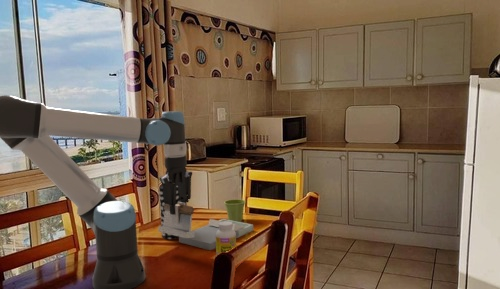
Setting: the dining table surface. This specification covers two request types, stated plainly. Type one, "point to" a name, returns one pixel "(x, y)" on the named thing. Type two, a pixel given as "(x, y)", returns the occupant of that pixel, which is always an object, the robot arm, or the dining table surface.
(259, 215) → the dining table surface
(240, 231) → the tray
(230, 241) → the supplement bottle
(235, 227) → the tile right
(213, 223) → the tile left
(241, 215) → the plant pot
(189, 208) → the scraper
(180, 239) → the board
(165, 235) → the spotted tube
